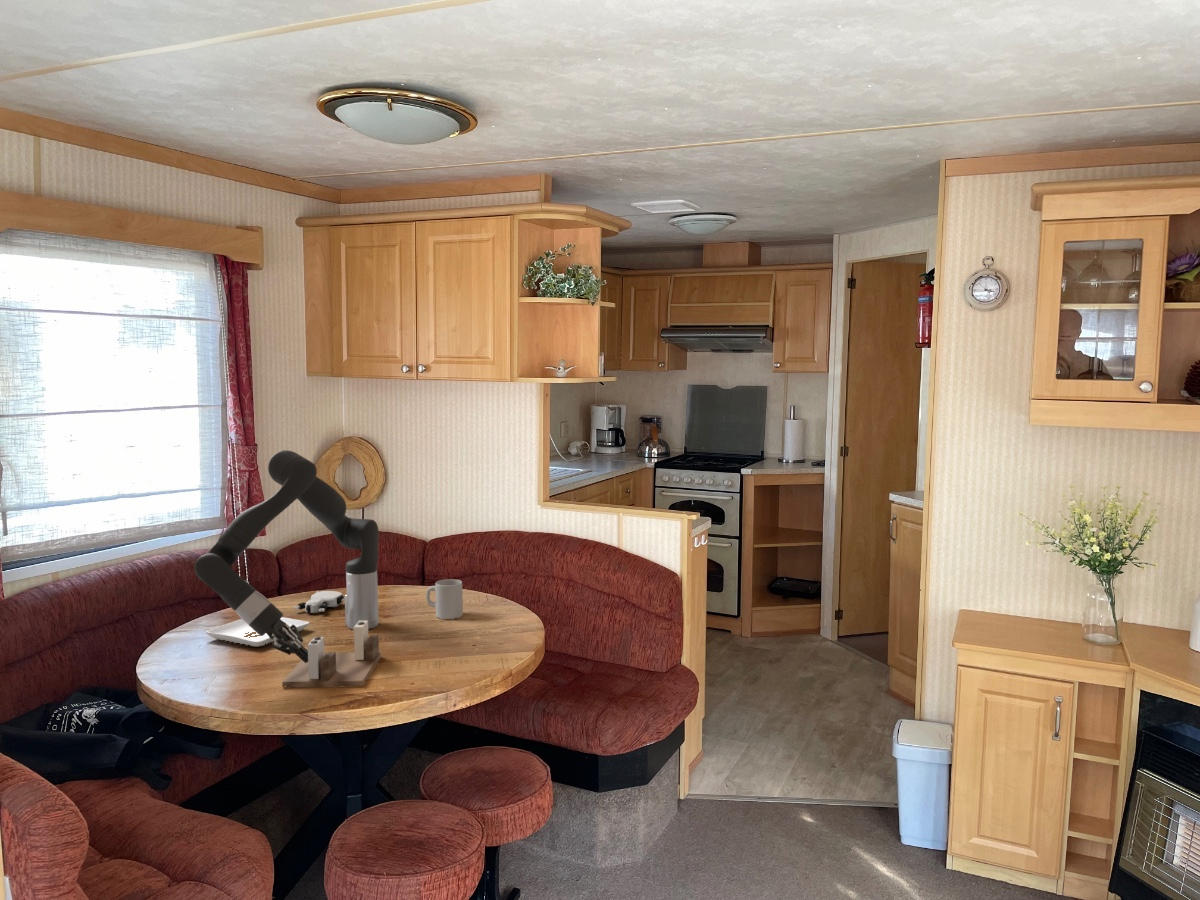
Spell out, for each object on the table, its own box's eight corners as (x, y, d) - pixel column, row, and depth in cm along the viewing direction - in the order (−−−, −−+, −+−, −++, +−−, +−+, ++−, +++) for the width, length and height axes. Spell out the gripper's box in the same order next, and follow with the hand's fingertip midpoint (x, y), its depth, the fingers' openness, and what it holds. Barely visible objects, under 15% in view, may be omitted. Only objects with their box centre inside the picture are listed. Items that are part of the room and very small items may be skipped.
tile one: (354, 660, 239) (353, 626, 238) (360, 652, 245) (359, 619, 244) (363, 659, 240) (362, 626, 239) (368, 652, 245) (367, 619, 244)
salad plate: (312, 631, 271) (311, 620, 270) (258, 652, 252) (258, 641, 251) (259, 623, 280) (259, 612, 279) (203, 642, 260) (203, 631, 260)
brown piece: (282, 687, 224) (281, 662, 224) (308, 657, 246) (307, 634, 245) (362, 686, 225) (361, 661, 224) (381, 657, 247) (380, 634, 246)
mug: (467, 613, 289) (466, 579, 288) (456, 620, 281) (456, 586, 279) (432, 610, 292) (431, 577, 290) (421, 618, 283) (420, 584, 282)
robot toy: (324, 619, 285) (351, 604, 299) (323, 606, 284) (350, 591, 298) (291, 616, 289) (319, 601, 303) (290, 603, 288) (318, 588, 302)
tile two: (308, 679, 225) (307, 643, 224) (315, 670, 231) (314, 635, 230) (318, 679, 225) (317, 643, 224) (325, 670, 231) (323, 635, 230)
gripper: (260, 610, 219) (312, 658, 221) (277, 595, 233) (326, 641, 234) (239, 631, 220) (291, 679, 222) (258, 615, 233) (307, 660, 235)
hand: (309, 659), depth 228 cm, fingers closed
